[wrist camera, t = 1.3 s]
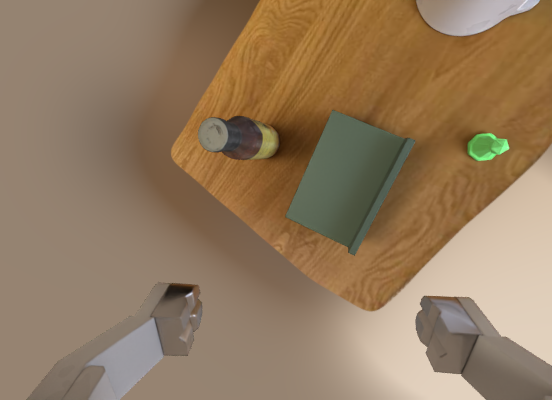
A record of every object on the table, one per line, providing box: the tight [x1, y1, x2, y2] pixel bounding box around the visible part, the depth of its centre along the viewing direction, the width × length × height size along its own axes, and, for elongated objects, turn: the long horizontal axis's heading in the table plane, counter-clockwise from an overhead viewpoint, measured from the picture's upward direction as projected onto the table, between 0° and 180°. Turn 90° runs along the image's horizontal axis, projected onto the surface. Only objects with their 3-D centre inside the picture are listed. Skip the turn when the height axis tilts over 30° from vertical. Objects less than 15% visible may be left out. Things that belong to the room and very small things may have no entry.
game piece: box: [468, 133, 509, 161], centre depth 41 cm, size 4×4×6 cm
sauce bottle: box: [198, 116, 280, 160], centre depth 42 cm, size 6×6×20 cm
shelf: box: [285, 110, 415, 256], centre depth 45 cm, size 18×12×10 cm, turn 157°
